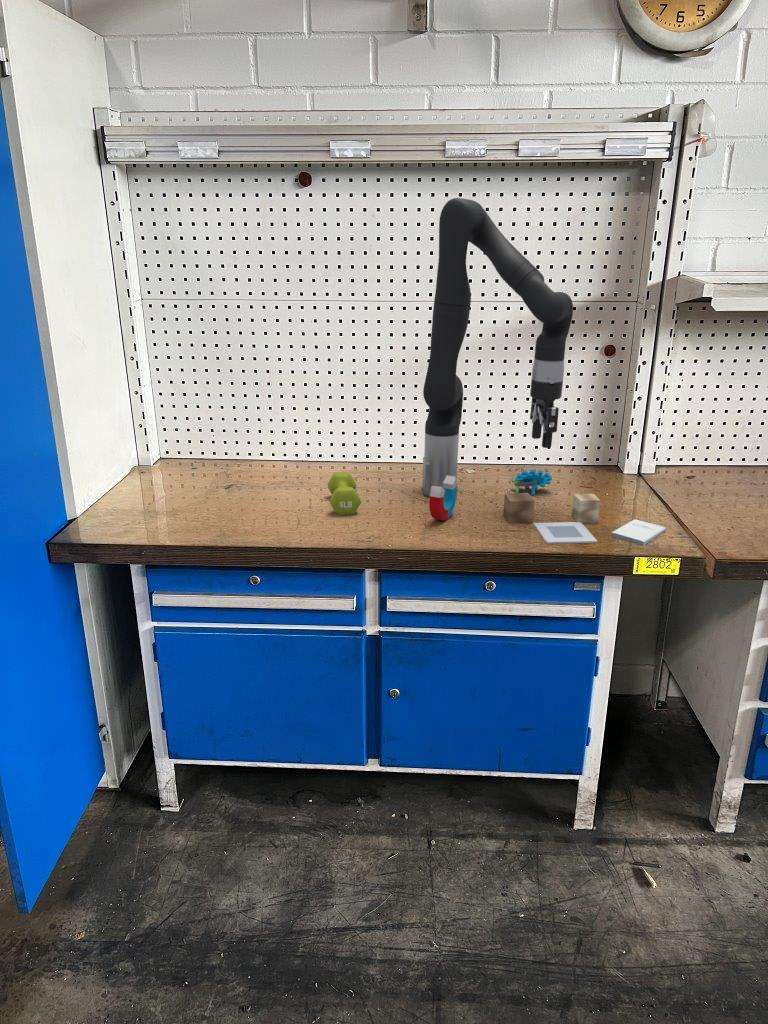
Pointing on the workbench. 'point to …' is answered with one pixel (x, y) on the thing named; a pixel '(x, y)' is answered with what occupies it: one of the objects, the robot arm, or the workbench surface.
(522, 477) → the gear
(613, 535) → the external hard drive
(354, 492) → the dumbbell
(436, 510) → the magnet
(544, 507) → the workbench surface
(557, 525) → the white square plate
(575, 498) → the maple block
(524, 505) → the walnut block
